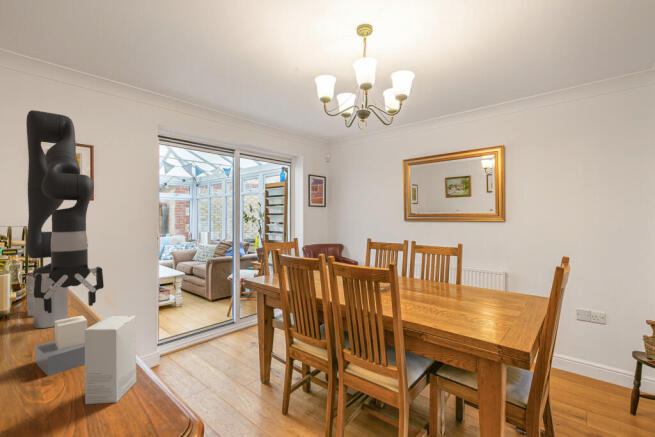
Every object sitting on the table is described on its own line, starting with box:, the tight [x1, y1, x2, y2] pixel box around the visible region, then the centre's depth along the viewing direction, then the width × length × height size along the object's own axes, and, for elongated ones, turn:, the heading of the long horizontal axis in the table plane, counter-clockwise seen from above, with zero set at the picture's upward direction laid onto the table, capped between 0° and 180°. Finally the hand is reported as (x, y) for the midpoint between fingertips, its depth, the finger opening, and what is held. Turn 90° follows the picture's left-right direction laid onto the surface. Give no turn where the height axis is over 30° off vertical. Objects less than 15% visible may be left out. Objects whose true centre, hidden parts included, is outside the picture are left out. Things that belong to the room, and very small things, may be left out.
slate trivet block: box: [34, 340, 85, 377], centre depth 83 cm, size 12×12×5 cm
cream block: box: [54, 314, 88, 350], centre depth 83 cm, size 6×6×6 cm
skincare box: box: [84, 315, 137, 405], centre depth 67 cm, size 8×7×16 cm
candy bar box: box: [25, 273, 34, 318], centre depth 125 cm, size 11×5×16 cm, turn 168°
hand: (70, 308), depth 83 cm, fingers open, 8 cm apart
